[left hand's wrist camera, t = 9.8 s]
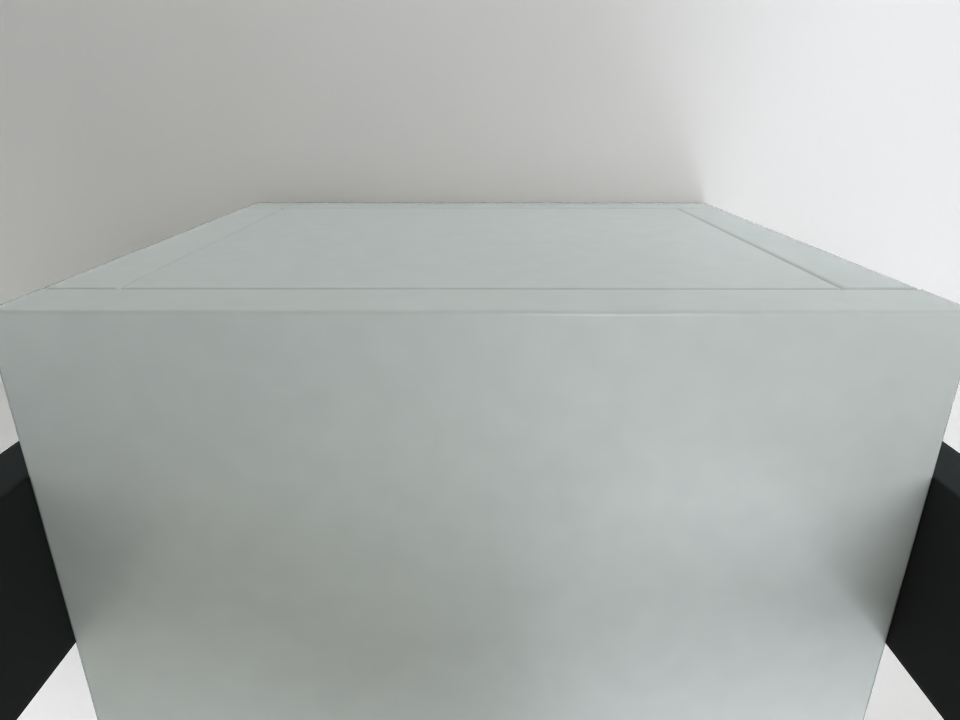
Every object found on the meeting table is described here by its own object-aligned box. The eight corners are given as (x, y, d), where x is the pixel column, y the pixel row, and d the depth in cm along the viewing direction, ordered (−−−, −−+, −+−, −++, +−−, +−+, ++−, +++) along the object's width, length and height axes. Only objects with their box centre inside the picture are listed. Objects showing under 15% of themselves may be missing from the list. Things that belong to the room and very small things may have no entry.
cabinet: (635, 798, 24) (726, 1207, 15) (325, 798, 24) (233, 1207, 15) (707, 202, 17) (982, 311, 7) (254, 202, 17) (-21, 311, 7)
